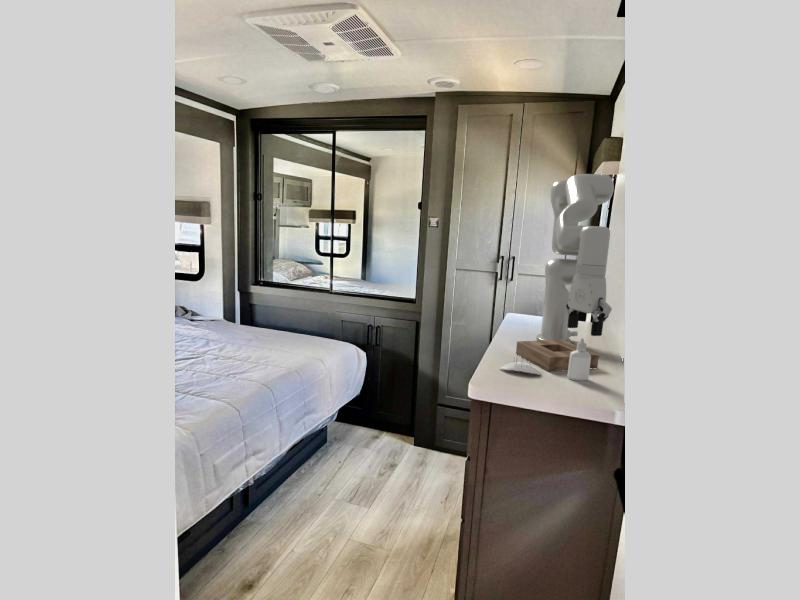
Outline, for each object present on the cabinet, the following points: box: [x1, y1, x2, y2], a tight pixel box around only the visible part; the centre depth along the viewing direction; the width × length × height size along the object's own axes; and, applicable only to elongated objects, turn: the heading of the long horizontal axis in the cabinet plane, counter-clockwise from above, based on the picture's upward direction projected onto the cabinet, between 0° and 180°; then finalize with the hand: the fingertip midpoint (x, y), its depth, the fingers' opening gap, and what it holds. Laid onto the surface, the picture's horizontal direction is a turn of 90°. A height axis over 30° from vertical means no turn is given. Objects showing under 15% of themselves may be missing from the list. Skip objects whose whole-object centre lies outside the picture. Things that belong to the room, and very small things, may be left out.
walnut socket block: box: [515, 340, 600, 373], centre depth 145 cm, size 18×18×4 cm
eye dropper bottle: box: [567, 338, 591, 382], centre depth 128 cm, size 4×6×12 cm
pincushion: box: [499, 354, 542, 375], centre depth 132 cm, size 12×6×6 cm, turn 73°
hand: (583, 331), depth 126 cm, fingers open, 9 cm apart
